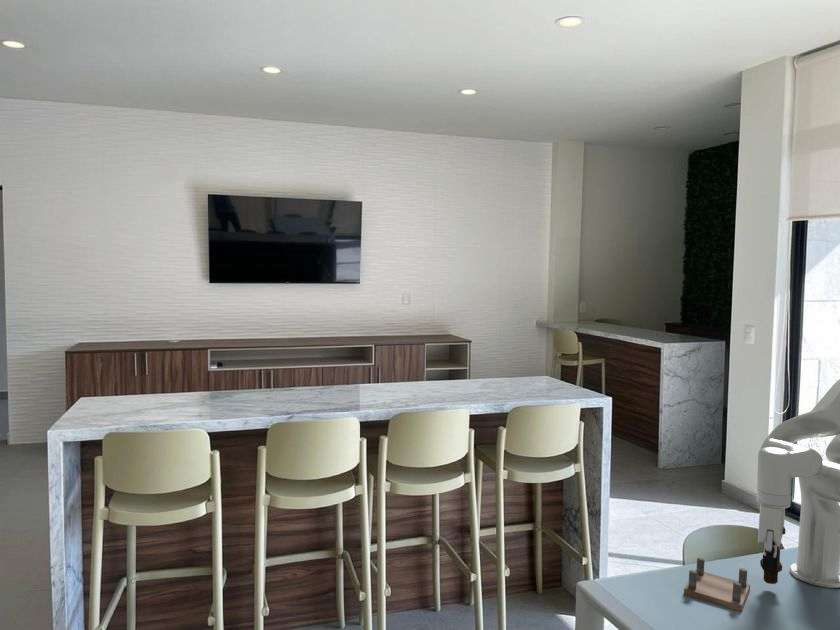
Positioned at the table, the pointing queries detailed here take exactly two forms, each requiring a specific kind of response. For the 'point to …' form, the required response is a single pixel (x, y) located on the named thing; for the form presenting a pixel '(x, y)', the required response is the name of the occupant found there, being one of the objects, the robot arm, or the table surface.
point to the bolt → (769, 576)
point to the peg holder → (717, 587)
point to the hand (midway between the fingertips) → (771, 566)
